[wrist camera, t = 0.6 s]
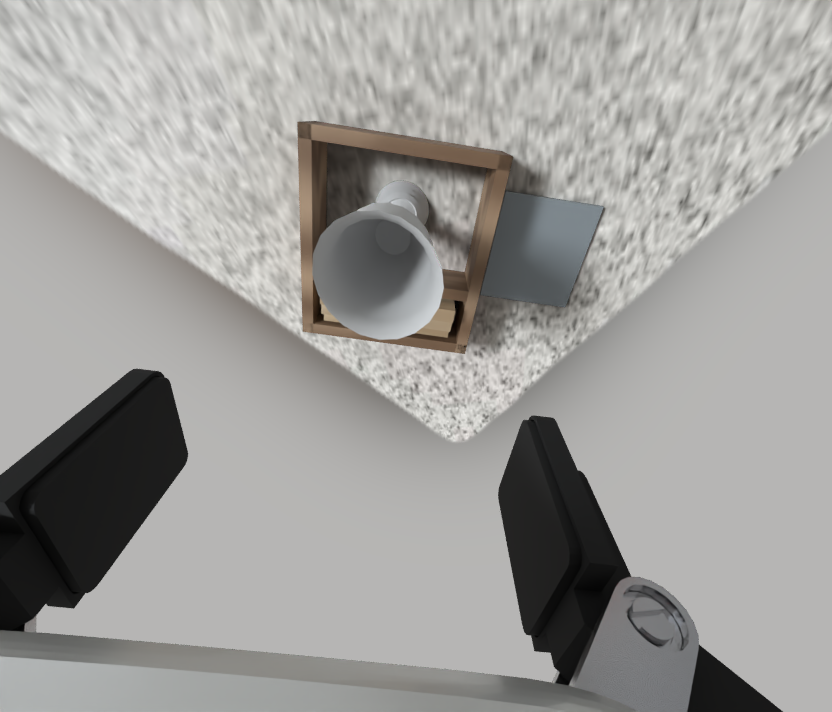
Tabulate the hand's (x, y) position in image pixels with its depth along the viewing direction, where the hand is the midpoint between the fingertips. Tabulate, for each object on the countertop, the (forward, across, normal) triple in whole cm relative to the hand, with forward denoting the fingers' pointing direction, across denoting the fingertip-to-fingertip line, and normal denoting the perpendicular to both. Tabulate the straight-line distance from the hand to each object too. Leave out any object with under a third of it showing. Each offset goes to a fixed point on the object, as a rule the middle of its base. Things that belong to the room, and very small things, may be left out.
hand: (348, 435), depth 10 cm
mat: (+30, -13, +2) cm, 32 cm away
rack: (+30, 0, +2) cm, 30 cm away
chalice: (+30, 0, -1) cm, 30 cm away
